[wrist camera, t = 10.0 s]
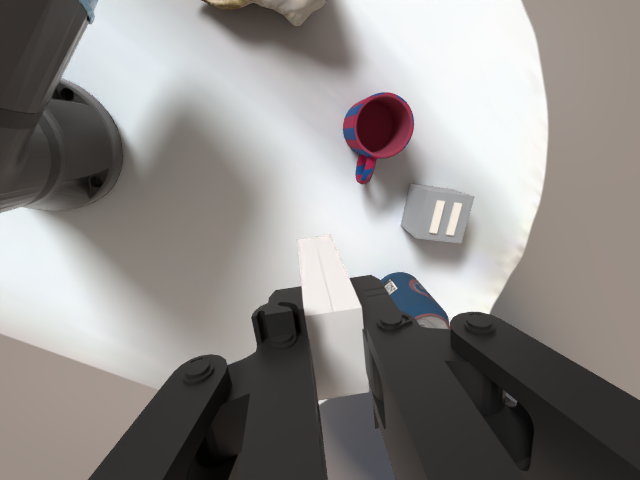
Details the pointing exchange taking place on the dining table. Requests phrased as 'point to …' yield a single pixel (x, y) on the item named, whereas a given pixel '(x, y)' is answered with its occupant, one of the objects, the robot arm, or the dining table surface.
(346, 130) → the mug
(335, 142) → the dining table surface
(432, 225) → the slate numbered block
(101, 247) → the dining table surface
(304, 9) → the ceramic sculpture
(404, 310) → the soda can
